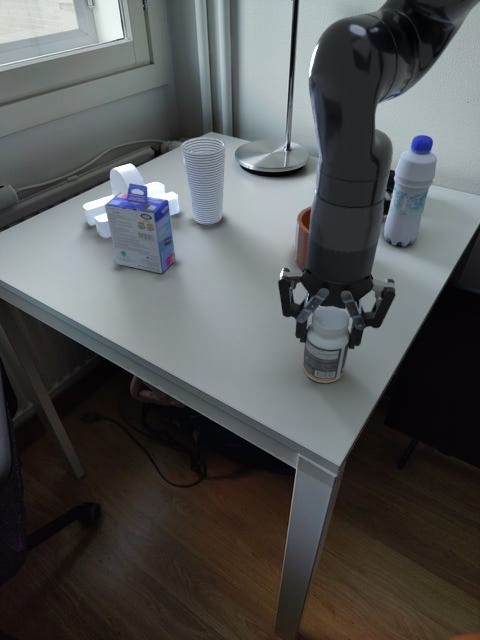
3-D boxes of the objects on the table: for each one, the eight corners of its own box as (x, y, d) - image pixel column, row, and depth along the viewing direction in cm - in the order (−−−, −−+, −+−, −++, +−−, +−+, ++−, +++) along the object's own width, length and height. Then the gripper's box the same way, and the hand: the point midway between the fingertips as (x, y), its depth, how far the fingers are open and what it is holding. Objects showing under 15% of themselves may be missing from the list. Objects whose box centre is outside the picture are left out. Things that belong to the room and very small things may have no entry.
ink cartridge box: (177, 258, 87) (168, 185, 77) (163, 275, 83) (152, 200, 73) (131, 249, 89) (116, 178, 80) (116, 264, 85) (99, 191, 76)
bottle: (388, 227, 94) (411, 126, 80) (421, 237, 91) (450, 134, 77) (375, 242, 90) (396, 138, 76) (409, 253, 87) (437, 146, 73)
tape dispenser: (85, 220, 98) (72, 171, 91) (159, 195, 106) (153, 149, 99) (104, 239, 92) (91, 188, 85) (181, 211, 100) (176, 163, 93)
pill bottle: (319, 349, 68) (326, 296, 61) (351, 369, 65) (362, 316, 58) (294, 369, 65) (298, 316, 58) (326, 391, 62) (335, 338, 55)
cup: (204, 232, 93) (198, 157, 83) (180, 217, 98) (171, 144, 88) (236, 218, 98) (234, 145, 87) (211, 204, 102) (206, 133, 92)
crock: (363, 244, 89) (370, 206, 84) (362, 282, 80) (370, 243, 75) (298, 238, 91) (301, 200, 86) (290, 274, 82) (293, 235, 77)
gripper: (273, 242, 49) (269, 354, 60) (415, 256, 46) (383, 370, 57) (282, 208, 54) (277, 317, 65) (410, 219, 52) (382, 329, 63)
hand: (327, 341), depth 61 cm, fingers closed on pill bottle, 5 cm apart
